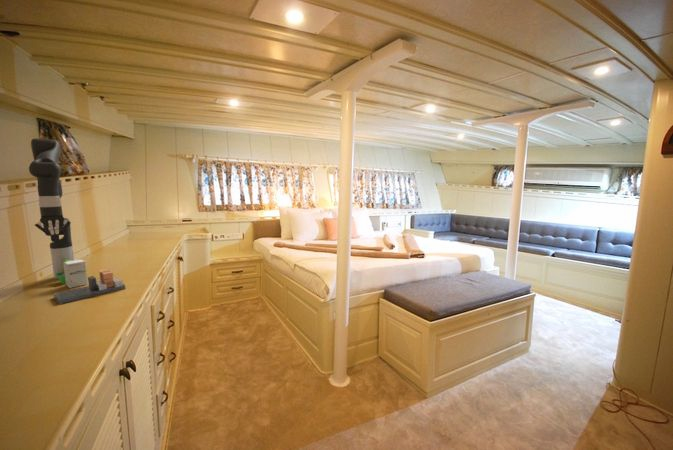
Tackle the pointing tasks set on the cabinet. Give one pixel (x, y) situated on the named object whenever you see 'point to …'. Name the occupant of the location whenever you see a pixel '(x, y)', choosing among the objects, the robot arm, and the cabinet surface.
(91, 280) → the sliding jaw
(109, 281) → the block
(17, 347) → the cabinet surface
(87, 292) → the vise
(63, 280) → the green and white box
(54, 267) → the robot arm
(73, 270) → the supplement box
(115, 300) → the cabinet surface
